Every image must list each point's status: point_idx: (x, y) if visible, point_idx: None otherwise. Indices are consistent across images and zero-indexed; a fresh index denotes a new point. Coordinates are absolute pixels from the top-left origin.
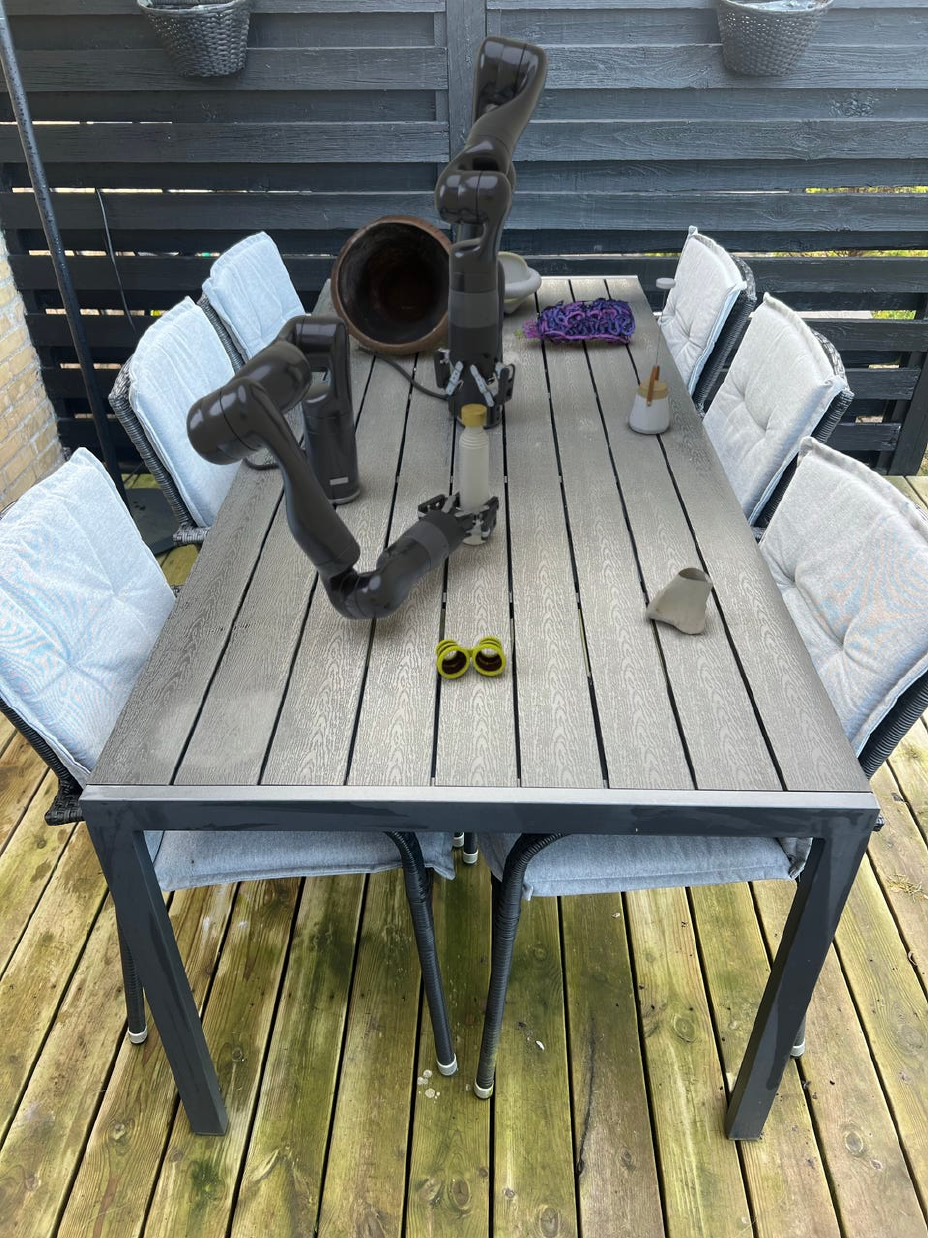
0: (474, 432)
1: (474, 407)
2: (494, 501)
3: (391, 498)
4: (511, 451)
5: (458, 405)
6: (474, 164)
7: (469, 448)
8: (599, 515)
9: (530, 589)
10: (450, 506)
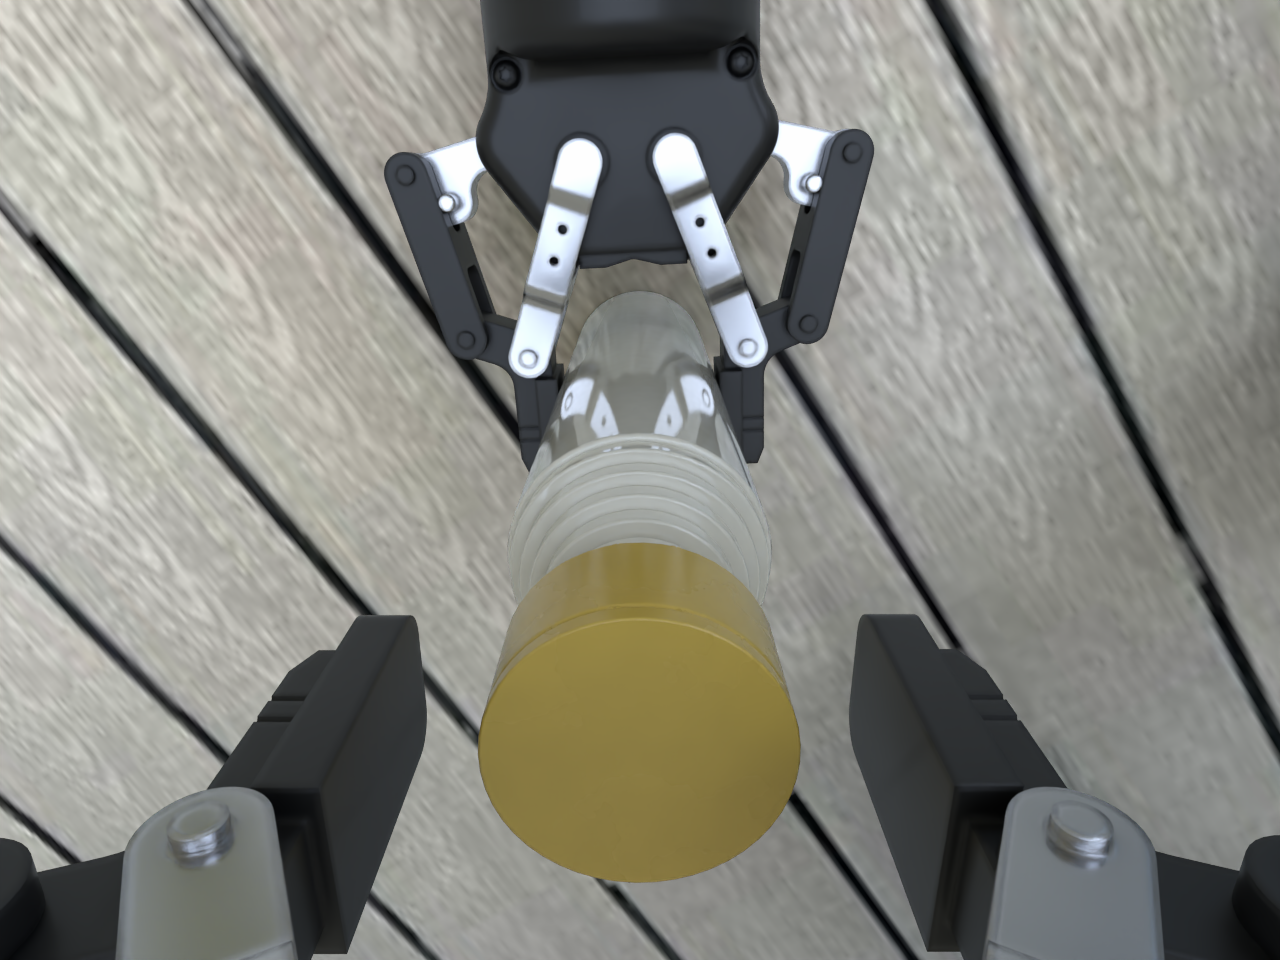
0: None
1: (662, 795)
2: None
3: (1142, 417)
4: (863, 934)
5: (884, 756)
6: None
7: (600, 436)
8: None
9: (191, 137)
10: (683, 228)
